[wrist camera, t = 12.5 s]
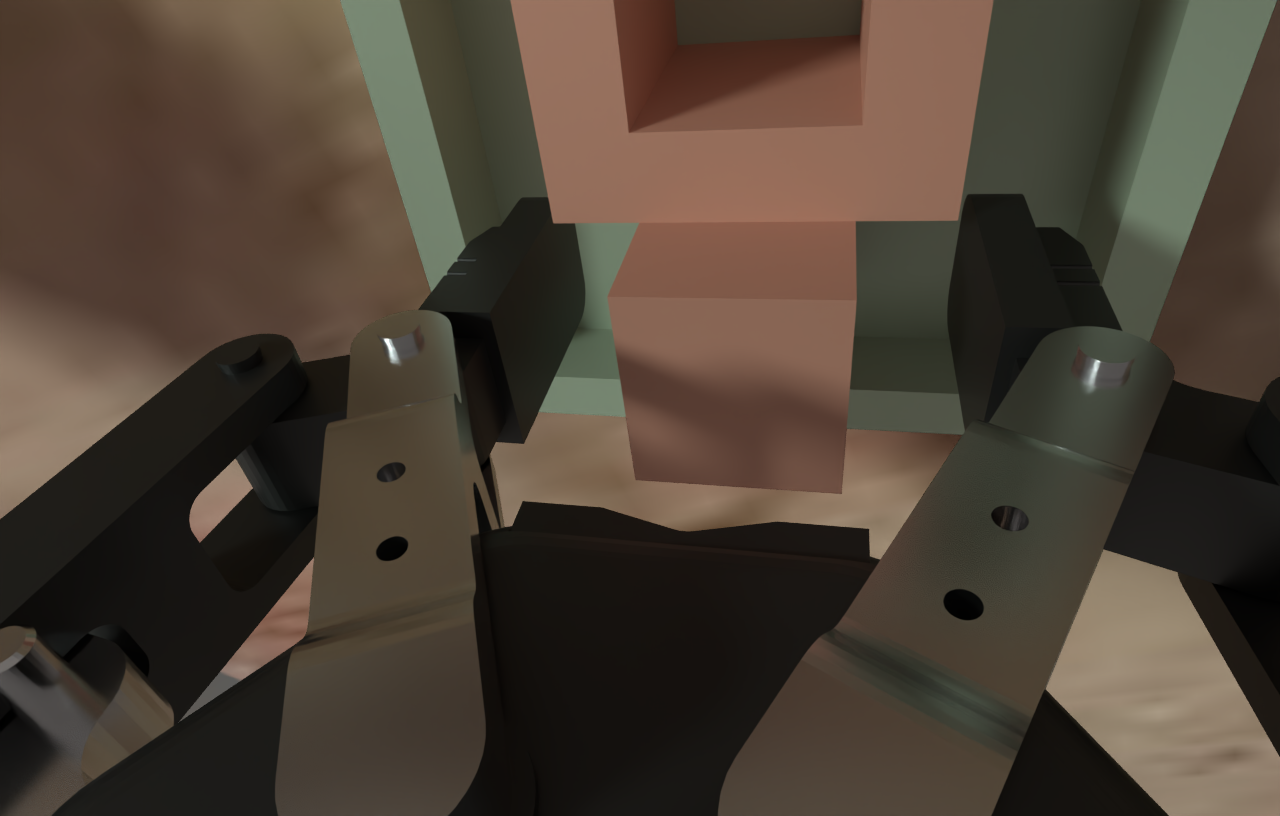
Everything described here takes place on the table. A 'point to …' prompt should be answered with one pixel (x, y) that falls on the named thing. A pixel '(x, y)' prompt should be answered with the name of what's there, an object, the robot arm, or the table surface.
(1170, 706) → the table surface
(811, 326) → the collar
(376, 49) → the tray
